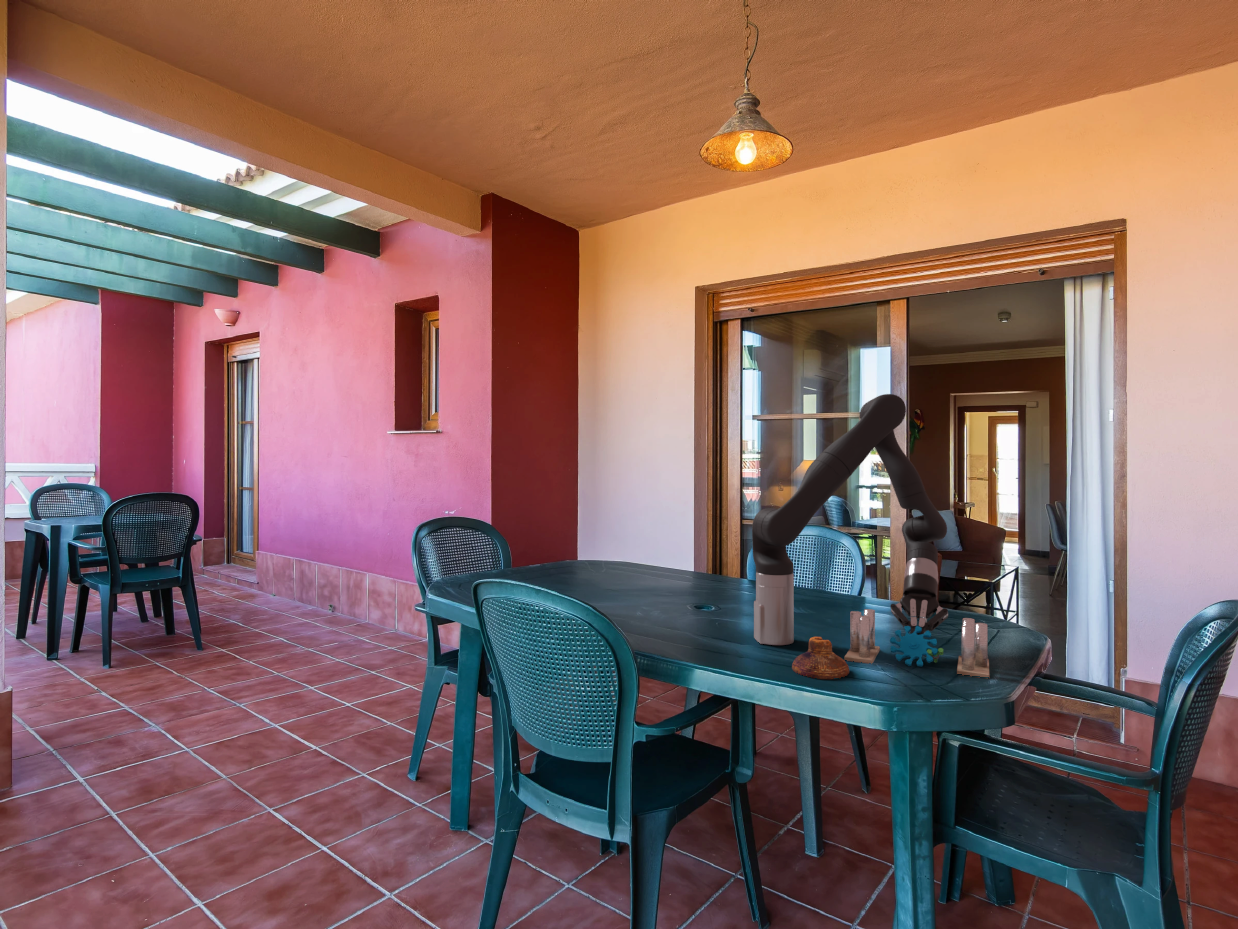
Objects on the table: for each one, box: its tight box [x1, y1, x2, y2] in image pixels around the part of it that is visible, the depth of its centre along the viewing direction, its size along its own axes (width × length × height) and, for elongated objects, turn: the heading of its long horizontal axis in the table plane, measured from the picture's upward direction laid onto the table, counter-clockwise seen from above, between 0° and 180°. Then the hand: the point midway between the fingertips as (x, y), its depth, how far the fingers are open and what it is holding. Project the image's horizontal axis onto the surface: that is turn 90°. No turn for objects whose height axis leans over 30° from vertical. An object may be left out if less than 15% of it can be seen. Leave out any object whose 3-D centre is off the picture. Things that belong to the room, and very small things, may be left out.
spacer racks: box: [843, 645, 990, 678], centre depth 156 cm, size 13×29×1 cm, turn 62°
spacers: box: [849, 608, 988, 671], centre depth 156 cm, size 10×28×9 cm, turn 62°
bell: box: [791, 636, 850, 680], centre depth 149 cm, size 12×12×7 cm
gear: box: [889, 625, 944, 667], centre depth 156 cm, size 11×6×10 cm
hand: (916, 643), depth 157 cm, fingers closed
